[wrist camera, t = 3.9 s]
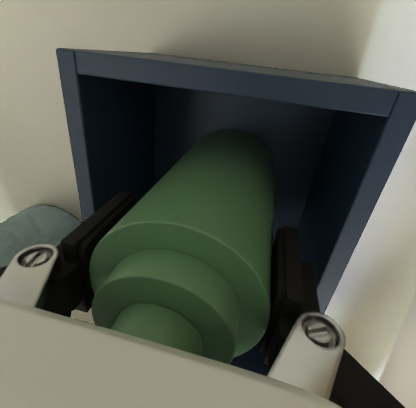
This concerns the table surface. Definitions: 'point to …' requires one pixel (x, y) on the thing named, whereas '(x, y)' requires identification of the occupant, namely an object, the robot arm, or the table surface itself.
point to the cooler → (249, 123)
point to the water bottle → (194, 253)
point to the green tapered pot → (34, 230)
